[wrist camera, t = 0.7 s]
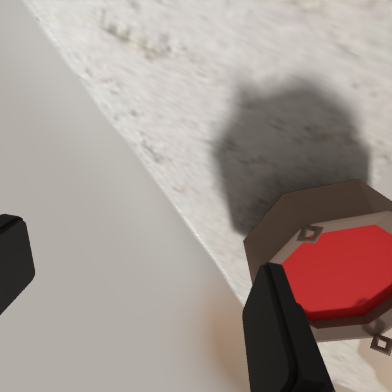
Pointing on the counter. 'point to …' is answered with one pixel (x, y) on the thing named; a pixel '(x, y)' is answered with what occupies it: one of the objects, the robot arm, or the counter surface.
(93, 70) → the counter surface
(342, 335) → the brown cauldron
